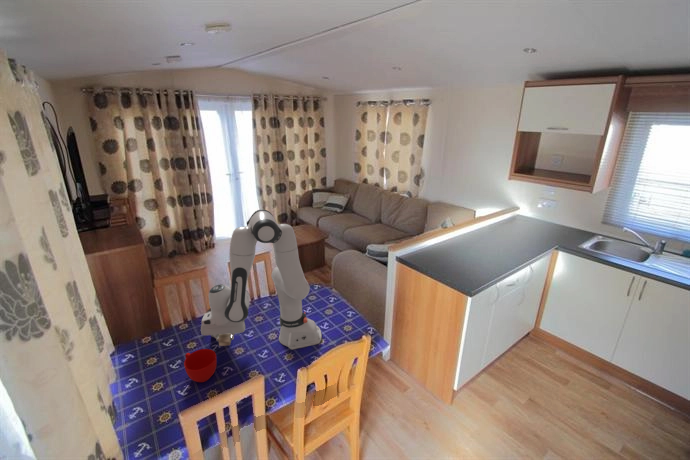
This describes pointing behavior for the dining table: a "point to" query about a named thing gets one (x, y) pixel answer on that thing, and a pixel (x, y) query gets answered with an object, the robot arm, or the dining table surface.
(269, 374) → the dining table surface
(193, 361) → the ceramic cup
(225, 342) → the maple cube
